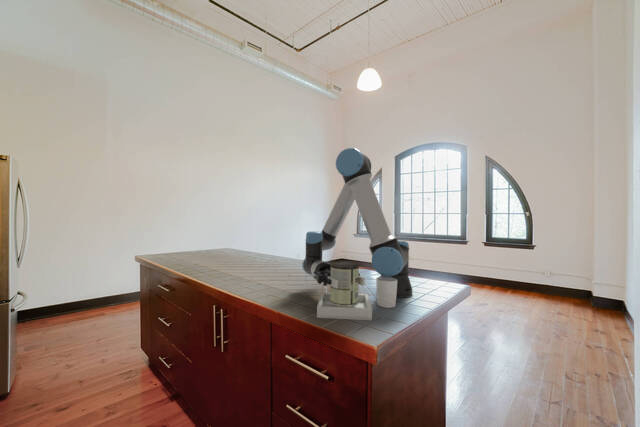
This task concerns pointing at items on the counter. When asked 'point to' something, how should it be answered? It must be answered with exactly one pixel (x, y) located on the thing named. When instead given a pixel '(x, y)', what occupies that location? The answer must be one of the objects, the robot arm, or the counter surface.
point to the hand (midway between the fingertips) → (350, 283)
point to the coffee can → (344, 284)
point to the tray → (344, 309)
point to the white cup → (386, 291)
